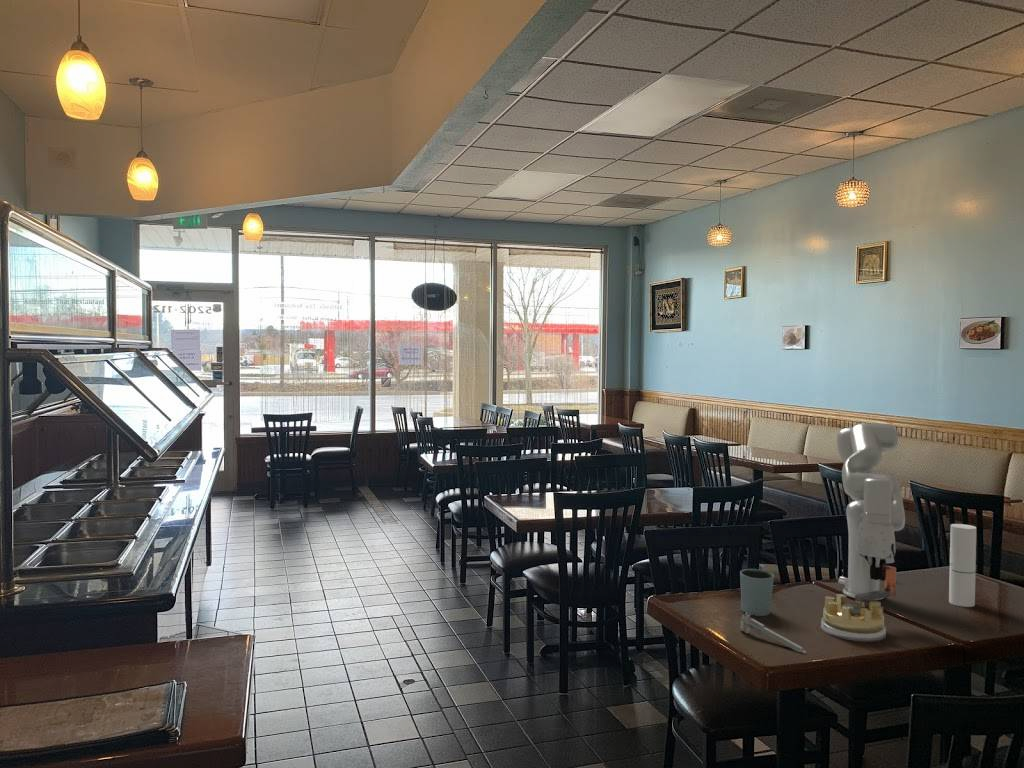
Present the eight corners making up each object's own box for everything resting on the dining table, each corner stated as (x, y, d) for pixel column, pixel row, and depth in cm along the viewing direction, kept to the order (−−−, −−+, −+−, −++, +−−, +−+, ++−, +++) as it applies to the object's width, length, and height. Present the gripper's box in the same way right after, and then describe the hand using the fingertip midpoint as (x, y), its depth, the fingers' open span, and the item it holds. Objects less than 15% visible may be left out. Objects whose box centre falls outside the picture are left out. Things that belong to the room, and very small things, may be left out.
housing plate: (808, 627, 219) (808, 620, 219) (843, 617, 228) (843, 610, 228) (863, 646, 204) (863, 638, 204) (898, 634, 214) (898, 627, 214)
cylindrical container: (967, 600, 245) (969, 524, 244) (979, 607, 238) (980, 529, 237) (944, 599, 245) (946, 523, 245) (955, 606, 238) (957, 528, 238)
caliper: (740, 632, 215) (740, 611, 215) (742, 631, 216) (742, 610, 215) (804, 655, 199) (805, 631, 198) (807, 654, 199) (807, 631, 199)
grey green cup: (745, 604, 240) (746, 567, 239) (777, 610, 234) (778, 572, 233) (734, 612, 231) (735, 574, 231) (768, 619, 225) (768, 580, 225)
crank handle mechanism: (819, 606, 231) (820, 560, 230) (894, 613, 224) (895, 566, 224) (825, 629, 211) (826, 579, 210) (907, 637, 205) (909, 586, 204)
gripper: (847, 515, 230) (846, 574, 231) (893, 524, 218) (891, 587, 218) (862, 513, 234) (861, 571, 235) (908, 521, 221) (907, 583, 222)
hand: (875, 578), depth 226 cm, fingers closed
